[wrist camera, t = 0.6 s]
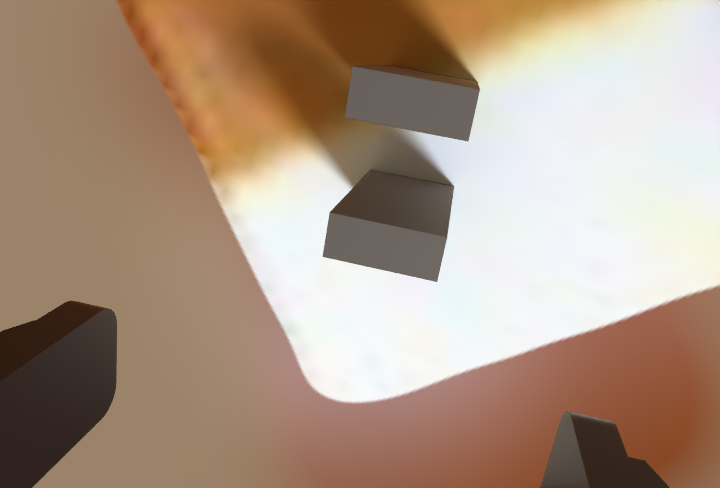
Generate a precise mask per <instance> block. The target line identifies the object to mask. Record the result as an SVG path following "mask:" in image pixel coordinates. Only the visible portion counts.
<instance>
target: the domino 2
mask: <svg viewBox="0 0 720 488" xmlns="http://www.w3.org/2000/svg"><path fill="white" fill-rule="evenodd" d="M453 190H454V186H450V185H445V184H440V183H435V182H430V181H425V180H420V179H415V178H410V177H405V176H400V175H395V174H390V173H385V172H380V171H375V170H370V171H369V172H368V173H367V174H366V175H365V176H364V177H363V178H362V179H361V180H360V181H359V182H358V183H357V184H356V185H355V187H354V188H353V189H352V190H351V191H350V192H349V193H348V194H347V195H346V196H345V197H344V198H343V199H342V200H341V201H340V202H339V203H338V204H337V205H336V206H335V208H334V209H333V210H332V211H331V212H330V214H329V220H328V227H327V233H326V239H325V246H324V252H323V257H326V258H331V259H336V260H340V261H345V262H349V263H354V264H358V265H363V266H367V267H372V268H376V269H381V270H386V271H390V272H395V273H399V274H404V275H408V276H413V277H417V278H422V279H426V280H431V281H436V282H437V280H438V275H439V271H440V266H441V262H442V257H443V253H444V248H445V244H446V239H447V233H448V226H449V219H450V212H451V205H452V197H453Z"/></svg>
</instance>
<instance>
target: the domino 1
mask: <svg viewBox="0 0 720 488" xmlns="http://www.w3.org/2000/svg"><path fill="white" fill-rule="evenodd" d="M479 91H480V89H479V85H478V82H477V81H472V80H466V79H461V78H455V77H449V76H444V75H438V74H433V73H427V72H422V71H416V70H411V69H405V68H399V67H394V66H353V67H352V73H351V79H350V86H349V92H348V98H347V105H346V111H345V118H349V119H354V120H360V121H365V122H370V123H375V124H380V125H386V126H391V127H396V128H401V129H407V130H412V131H417V132H422V133H427V134H433V135H438V136H443V137H448V138H454V139H459V140H464V141H468V140H469V135H470V131H471V127H472V122H473V118H474V113H475V109H476V104H477V100H478V95H479Z"/></svg>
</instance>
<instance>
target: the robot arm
mask: <svg viewBox="0 0 720 488" xmlns="http://www.w3.org/2000/svg"><path fill="white" fill-rule="evenodd" d="M116 354H117V320H116V316H115V313H114V312H113V311H112V310H111V309H108V308H103V307H98V306H93V305H90V304H85V303H80V302H75V301H68V302H65V303H64V304H62V305H60V306H59V307H57V308H55V309H54V310H52V311H51V312H49V313H47V314H46V315H44V316H42V317H41V318H39V319H38V320H36V321H31V322H28V323H25V324H22V325H19V326H16V327H12V328H10V329H6V330H3V331H1V332H0V488H32V487H33V486H34V485H35V484H36V483H37V482H38V481H39V480H40V479H41V478H42V477H43V476H44V475H45V474H46V473H47V472H48V471H49V470H50V469H51V468H52V467H53V466H54V465H55V464H56V463H58V462H59V460H61V459H62V458H63V457H64V456H65V454H66V453H68V452H69V451H70V450H71V449H72V448H73V447H74V446H75V445H76V444H77V442H79V441H80V440H81V439H82V438H83V437H84V436H85V435H86V434H87V433H88V432H89V431H90V430H91V429H92V428H93V427H94V426H95V425H96V424H97V423H98V422H99V421H100V420H101V419H102V418H103V417H104V415H105V414H106V413H107V411H108V409H109V407H110V405H111V403H112V400H113V398H114V394H115V390H116V362H117V361H116V360H117V355H116ZM541 488H669V487H668V485H667V484H666V483H665V482H664V481H663V480H662V479H661V478H660V477H659V476H658V474H656V472H655V471H654V470H653V469H652V468H651V467H650V466H649V465H648V464H647V463H646V461H644V460H638V459H635V458H630V457H628V456H627V453H626V450H625V448H624V445H623V443H622V440H621V437H620V434H619V432H618V429H617V427H616V424H615V423H614V422H612V421H608V420H603V419H599V418H594V417H590V416H585V415H581V414H576V413H572V412H565V413H564V415H563V416H562V418H561V421H560V424H559V427H558V430H557V434H556V437H555V441H554V444H553V447H552V450H551V454H550V457H549V460H548V464H547V467H546V471H545V474H544V477H543V481H542V484H541Z"/></svg>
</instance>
